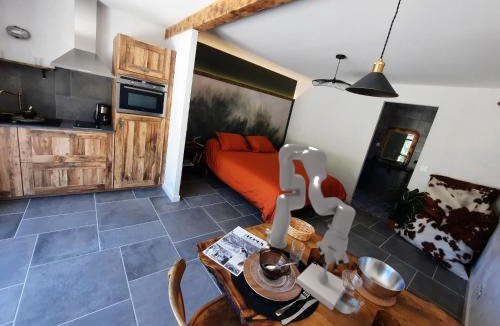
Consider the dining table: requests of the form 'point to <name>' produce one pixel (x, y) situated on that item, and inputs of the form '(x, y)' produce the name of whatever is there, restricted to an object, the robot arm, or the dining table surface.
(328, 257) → the chalice
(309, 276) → the plinth
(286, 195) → the robot arm
